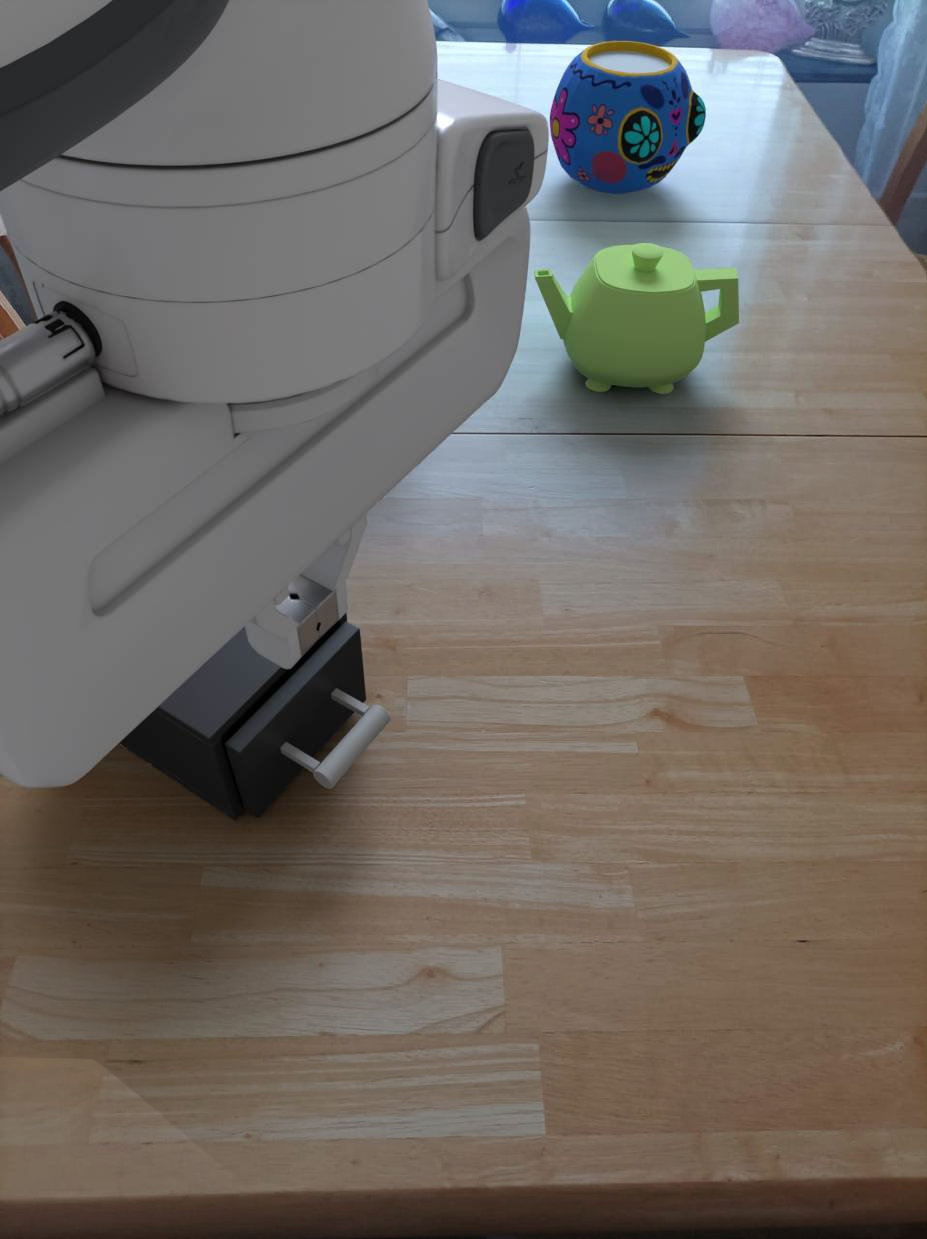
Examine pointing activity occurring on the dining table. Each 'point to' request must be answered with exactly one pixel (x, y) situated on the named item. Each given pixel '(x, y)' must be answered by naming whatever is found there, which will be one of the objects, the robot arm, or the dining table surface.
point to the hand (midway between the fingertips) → (300, 632)
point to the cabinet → (207, 721)
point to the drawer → (304, 723)
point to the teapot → (639, 315)
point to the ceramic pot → (624, 116)
